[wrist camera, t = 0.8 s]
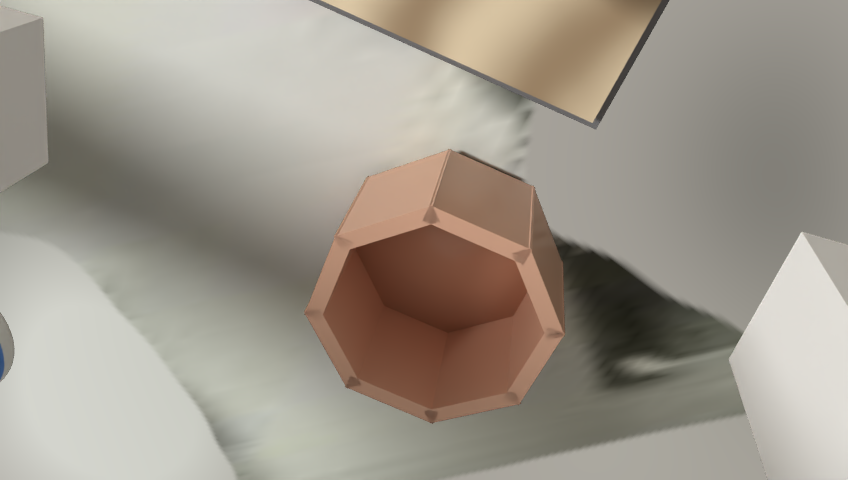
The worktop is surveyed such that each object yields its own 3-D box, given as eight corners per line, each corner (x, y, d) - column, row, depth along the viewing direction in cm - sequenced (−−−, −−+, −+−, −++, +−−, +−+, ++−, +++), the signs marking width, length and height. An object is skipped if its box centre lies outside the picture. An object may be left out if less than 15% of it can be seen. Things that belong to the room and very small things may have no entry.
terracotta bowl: (323, 286, 42) (284, 361, 36) (391, 117, 36) (359, 173, 30) (500, 361, 42) (491, 449, 36) (593, 207, 37) (601, 279, 31)
